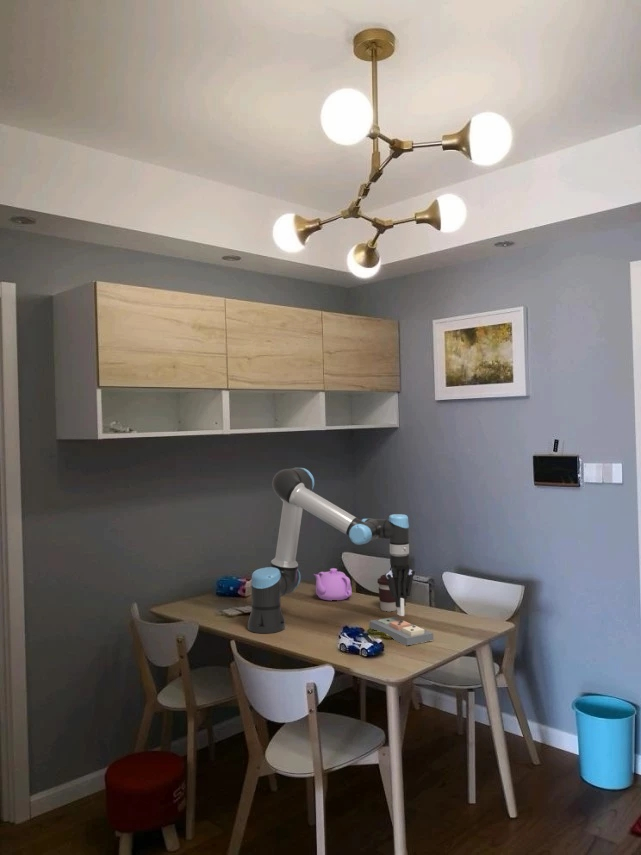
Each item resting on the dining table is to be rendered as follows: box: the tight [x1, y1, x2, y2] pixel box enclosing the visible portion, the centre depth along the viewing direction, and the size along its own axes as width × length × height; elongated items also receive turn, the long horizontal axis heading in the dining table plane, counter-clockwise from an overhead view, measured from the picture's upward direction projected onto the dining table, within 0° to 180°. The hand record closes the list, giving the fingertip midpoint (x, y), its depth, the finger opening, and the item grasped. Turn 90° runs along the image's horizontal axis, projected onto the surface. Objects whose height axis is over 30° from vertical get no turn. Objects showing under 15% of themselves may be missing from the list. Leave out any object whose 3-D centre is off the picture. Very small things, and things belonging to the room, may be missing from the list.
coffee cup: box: [376, 574, 397, 613], centre depth 302 cm, size 10×10×15 cm
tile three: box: [390, 619, 412, 630], centre depth 266 cm, size 6×6×3 cm
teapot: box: [313, 567, 353, 601], centre depth 322 cm, size 22×22×14 cm
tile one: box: [378, 617, 396, 625], centre depth 274 cm, size 6×6×3 cm
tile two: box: [402, 625, 425, 636], centre depth 259 cm, size 6×6×3 cm
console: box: [368, 616, 434, 646], centre depth 266 cm, size 12×26×3 cm, turn 28°
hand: (400, 615), depth 266 cm, fingers closed
